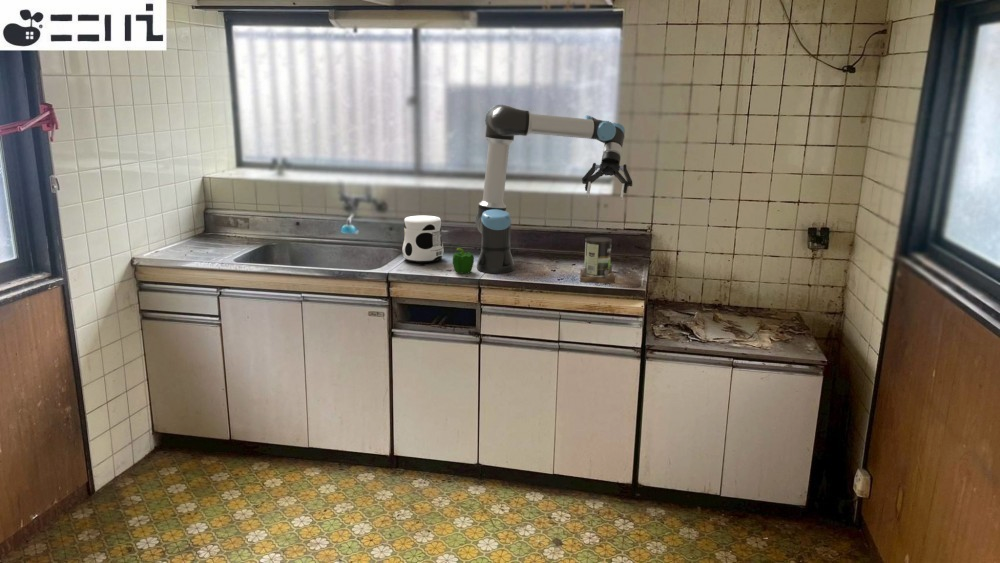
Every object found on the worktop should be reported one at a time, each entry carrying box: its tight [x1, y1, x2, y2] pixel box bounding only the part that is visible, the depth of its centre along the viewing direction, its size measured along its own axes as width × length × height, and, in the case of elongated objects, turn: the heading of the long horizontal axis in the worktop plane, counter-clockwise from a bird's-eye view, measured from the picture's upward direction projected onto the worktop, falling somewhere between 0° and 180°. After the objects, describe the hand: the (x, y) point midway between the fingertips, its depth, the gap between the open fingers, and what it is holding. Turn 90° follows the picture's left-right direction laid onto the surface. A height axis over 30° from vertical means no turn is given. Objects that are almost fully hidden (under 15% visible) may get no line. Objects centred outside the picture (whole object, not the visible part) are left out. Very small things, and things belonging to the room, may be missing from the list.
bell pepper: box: [452, 247, 475, 275], centre depth 282 cm, size 8×8×10 cm
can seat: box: [579, 263, 616, 284], centre depth 278 cm, size 13×13×5 cm
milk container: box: [401, 215, 445, 264], centre depth 300 cm, size 17×17×18 cm
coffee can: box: [583, 236, 613, 277], centre depth 277 cm, size 10×10×14 cm
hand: (604, 197), depth 283 cm, fingers open, 13 cm apart
